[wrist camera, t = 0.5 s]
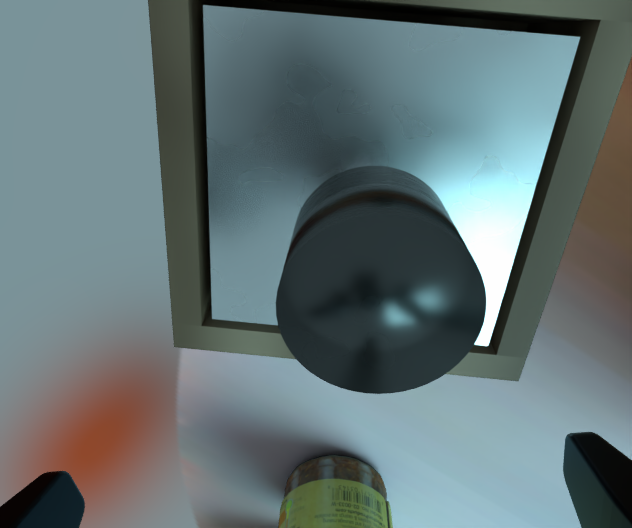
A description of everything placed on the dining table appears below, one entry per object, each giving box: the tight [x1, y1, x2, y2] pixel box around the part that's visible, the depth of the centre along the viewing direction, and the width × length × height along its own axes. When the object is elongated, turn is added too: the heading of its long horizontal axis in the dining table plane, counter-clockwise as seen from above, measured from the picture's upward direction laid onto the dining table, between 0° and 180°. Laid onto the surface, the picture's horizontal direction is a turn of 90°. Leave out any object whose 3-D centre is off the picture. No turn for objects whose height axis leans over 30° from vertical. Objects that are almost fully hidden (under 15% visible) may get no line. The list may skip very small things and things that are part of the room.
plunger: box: [203, 5, 580, 394], centre depth 11 cm, size 9×9×7 cm
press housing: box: [148, 0, 632, 381], centre depth 16 cm, size 12×12×6 cm
